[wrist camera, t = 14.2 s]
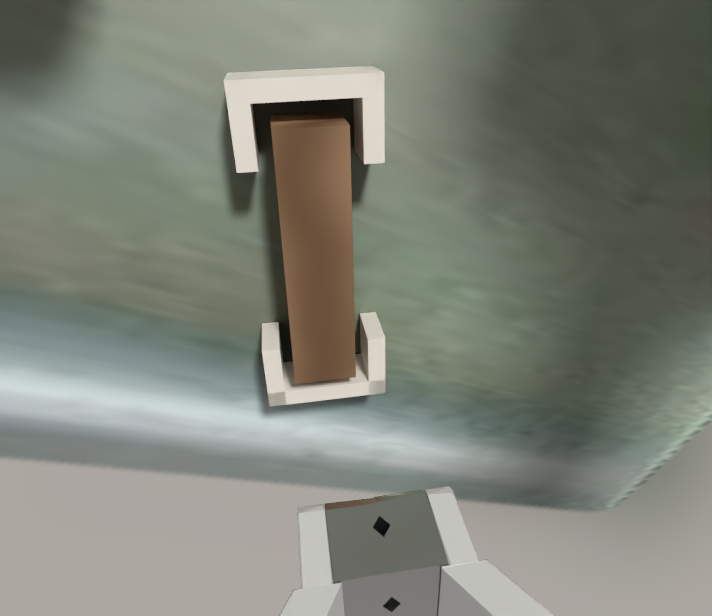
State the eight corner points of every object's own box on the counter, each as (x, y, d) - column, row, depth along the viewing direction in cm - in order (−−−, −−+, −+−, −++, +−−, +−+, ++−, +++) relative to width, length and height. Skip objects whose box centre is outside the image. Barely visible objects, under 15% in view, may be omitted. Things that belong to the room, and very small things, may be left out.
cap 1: (372, 65, 26) (384, 72, 24) (373, 148, 28) (384, 162, 26) (227, 72, 26) (223, 80, 23) (239, 157, 28) (236, 172, 25)
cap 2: (269, 376, 34) (269, 406, 32) (261, 323, 32) (261, 351, 30) (376, 364, 35) (385, 392, 33) (375, 312, 33) (385, 337, 31)
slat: (338, 110, 27) (349, 125, 24) (346, 339, 34) (355, 377, 31) (269, 113, 27) (271, 129, 24) (291, 345, 34) (294, 383, 31)
